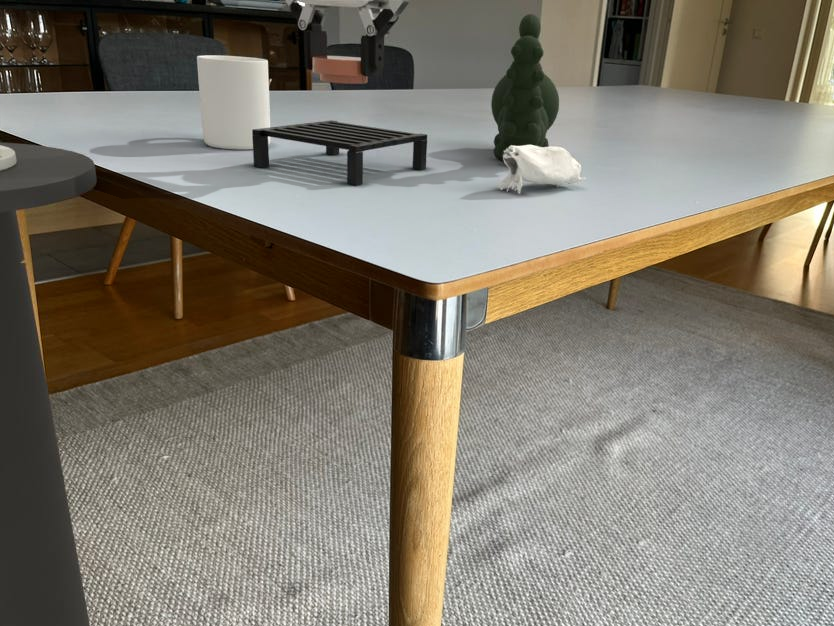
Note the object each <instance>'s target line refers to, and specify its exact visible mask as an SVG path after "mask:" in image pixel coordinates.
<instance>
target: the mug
mask: <svg viewBox="0 0 834 626" xmlns="http://www.w3.org/2000/svg"><path fill="white" fill-rule="evenodd" d="M196 64H197V65H196V66H197V77H198V79H197V80H198V89H199V90H198V91H199V92H198V93H199V105H200V119H201V132H202V138H203V141H204V143H205V144H206V145H208V146H209V147H211V148H216V149H224V150H242V151H243V150H246V151H247V150H253V138H252V130H253V129H261V128H270V127H271V111H270V110H271V107H270V105H271V104H270V83H269V82H270V81H269V79H270V78H269V61H268V59H266V58H259V57H251V56H250V57H249V56H236V55H216V54H215V55H213V54H212V55H211V54H210V55H209V54H207V55H204V54H203V55H197V56H196ZM271 139H272V137H268V146H269V145H270V144H271V141H272V140H271Z"/></svg>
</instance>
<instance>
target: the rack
mask: <svg viewBox="0 0 834 626" xmlns="http://www.w3.org/2000/svg"><path fill="white" fill-rule="evenodd" d="M268 137H271V138H273V139H281V140H286V141H293V142H299V143H305V144H312V145H315V146H316V145H318V146H323V147H325V154H326V155H330V156H337V155H340V150H347V151H346V171H347V172H346V179H347V180H346V183H347V185H351V186H360V185H363V183H364V152H365V151H372V150H377V149H382V148H383V149H384V148H389V147H395V146H400V145H405V144H410V143H412V144H413V145H412V170H417V171H422V170H426V169H427V157H428V155H427V154H428V150H427V149H428V134H427V133H414V132H407V131H400V130H394V129H387V128H380V127H373V126H367V125H360V124H353V123H347V122H340V121H338V120H333V119H331V120H321V121H314V122H313V121H312V122H304V123H297V124H296V123H295V124H289V125H278V126H270V128H261V129H253V130H252V138H253V149H252V155H253V167H255V168H261V169H263V168H268V167H269V168H270V155H269V154H270V152H269V145H268Z"/></svg>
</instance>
